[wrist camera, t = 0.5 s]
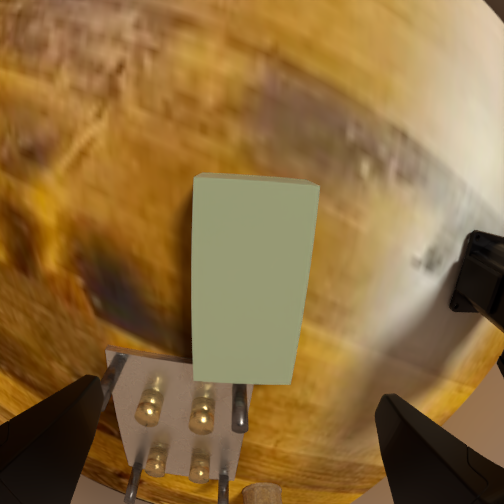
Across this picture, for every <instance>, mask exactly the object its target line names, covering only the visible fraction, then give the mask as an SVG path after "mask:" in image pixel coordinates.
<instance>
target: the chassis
mask: <svg viewBox="0 0 504 504" xmlns="http://www.w3.org/2000/svg"><path fill="white" fill-rule="evenodd" d="M105 352H106V359H107V366H108V369H107V370H106V372H105V374H104V376H103V378H102V380H101V386H102V390H103V394H104V402H103V406H102V409H101V412H102V411H104V410H105V408H106V406H107V403H108V401H109V399H110V397H111V394H112V395H113V400H114V405H115V410H116V415H117V420H118V424H119V429H120V433H121V437H122V441H123V445H124V449H125V453H126V457H127V460H128V464H129V466H132V471H131V475H130V479H129V483H128V487H127V490H126V494H125V498H124V502H125V503H127V504H134V502H135V498H136V494H137V489H138V485H139V481H140V476H141V472H142V469H145V472H146V473H147V474H148V475H150V476H153V477H163V476H164V474H165V473H169V474H176V475H182V476H189V480H190V481H192V482H194V483H200V484H203V483H207V482H208V481H209V479H218V480H219V485H218V504H228V498H229V480H232V481H234V478H235V474H236V469H237V464H238V459H239V455H240V450H241V445H242V440H243V435H244V433H245V432H247V431H248V410H249V405H250V400H251V395H252V390H253V385H254V384H236V383H217V382H203V381H194V380H193V359H192V358H184V357H177V356H170V355H164V354H157V353H151V352H145V351H139V350H134V349H128V348H123V347H118V346H113V345H108V346H107V347H106V349H105Z"/></svg>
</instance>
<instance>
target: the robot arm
mask: <svg viewBox="0 0 504 504" xmlns="http://www.w3.org/2000/svg"><path fill="white" fill-rule="evenodd" d="M476 236H477V238H476ZM455 304H456V305H455ZM449 308H450V309H451V310H452V311H453V312H478V313H481V314H482V315H483V316H484V317H485V318H487V319H488V320H489V321H490V322H491V323H493V324H494V325H495V326H496V327H497V328H498V329H500V330H501V331H502V332H503V333H504V237H502V236H498V235H494V234H490V233H486V232H482V231H478V230H474V231H473V232H472V233H471V236H470V240H469V244H468V247H467V251H466V255H465V258H464V262H463V265H462V268H461V271H460V275H459V278H458V281H457V284H456V287H455V290H454V293H453V296H452V299H451V301H450V305H449ZM497 365H498V367H499V369H500V371H501V373H502V375H503V377H504V350H503V352H502V354H501V356H499V359H498V361H497ZM103 402H104V394H103V390H102V386H101V382H100V379H99V378H98V377H97V376H93V375H85V376H83V377H81V378H80V379H78V380H76V381H75V382H73V383H71V384H70V385H68V386H66V387H65V388H63V389H61V390H60V391H58V392H56V393H55V394H53V395H51V396H50V397H48V398H46V399H45V400H43V401H41V402H39V403H38V404H36V405H34V406H33V407H31V408H29V409H28V410H26V411H24V412H22V413H21V414H19V415H17V416H16V417H14V418H12V419H10V420H9V421H7V422H5V423H3V424H2V425H0V504H70V503H71V500H72V497H73V494H74V491H75V488H76V485H77V483H78V480H79V477H80V474H81V471H82V469H83V466H84V463H85V461H86V458H87V455H88V453H89V450H90V447H91V445H92V442H93V439H94V436H95V432H96V428H97V424H98V421H99V417H100V413H101V409H102V406H103ZM375 422H376V427H377V433H378V439H379V445H380V451H381V456H382V460H383V464H384V467H385V471H386V475H387V478H388V482H389V486H390V489H391V493H392V497H393V501H394V504H504V468H502V467H501V466H499V465H497V464H495V463H493V462H492V461H490V460H488V459H487V458H485V457H483V456H482V455H480V454H479V453H477V452H476V451H474V450H473V449H472V448H470V447H467V445H466V444H464V443H463V442H462V441H460V440H459V439H457V438H456V437H454V436H453V435H451V434H450V433H449V432H447V431H446V430H444V429H443V428H442V427H440V426H439V425H438V424H436V423H435V422H434V421H432V420H431V419H429V418H428V417H427V416H425V415H424V414H423V413H421V412H420V411H418V410H417V409H416V408H414V407H413V406H412V405H410V404H409V403H407V402H406V401H405V400H403V399H402V398H401V397H399V396H398V395H397V394H385V395H383V396H382V398H381V400H380V402H379V405H378V407H377V409H376V412H375Z"/></svg>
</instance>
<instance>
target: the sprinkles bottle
mask: <svg viewBox="0 0 504 504" xmlns="http://www.w3.org/2000/svg"><path fill="white" fill-rule="evenodd" d="M281 492H282V489H281V487H280V486H278V485H276V484H273V483H255V484H251V485H249V486H246V487H245V488H244V489H243V491H242V494H243V500H244V504H282V500H281Z"/></svg>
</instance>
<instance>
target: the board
mask: <svg viewBox="0 0 504 504" xmlns="http://www.w3.org/2000/svg"><path fill="white" fill-rule="evenodd" d="M319 192H320V186H319V185H317V184H315V183H312V182H310V181H308V180H303V179H293V178H281V177H269V176H256V175H240V174H223V173H200V174H199V175H197V176H195V177H194V184H193V211H192V257H191V309H192V354H193V380H194V381H203V382H217V383H236V384H272V385H291V380H292V375H293V369H294V364H295V358H296V353H297V347H298V342H299V336H300V330H301V324H302V318H303V312H304V305H305V299H306V292H307V286H308V279H309V272H310V265H311V258H312V250H313V243H314V235H315V227H316V218H317V210H318V201H319Z"/></svg>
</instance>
